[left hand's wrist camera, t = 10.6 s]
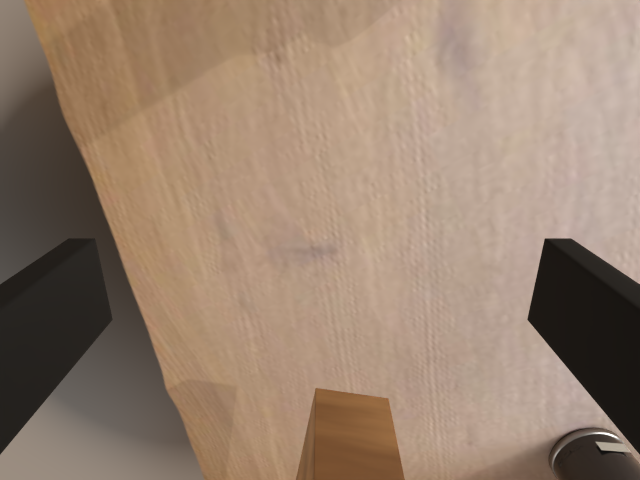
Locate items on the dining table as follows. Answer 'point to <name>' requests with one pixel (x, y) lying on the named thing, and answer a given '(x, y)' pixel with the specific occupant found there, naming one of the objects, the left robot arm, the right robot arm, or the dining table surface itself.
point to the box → (350, 439)
